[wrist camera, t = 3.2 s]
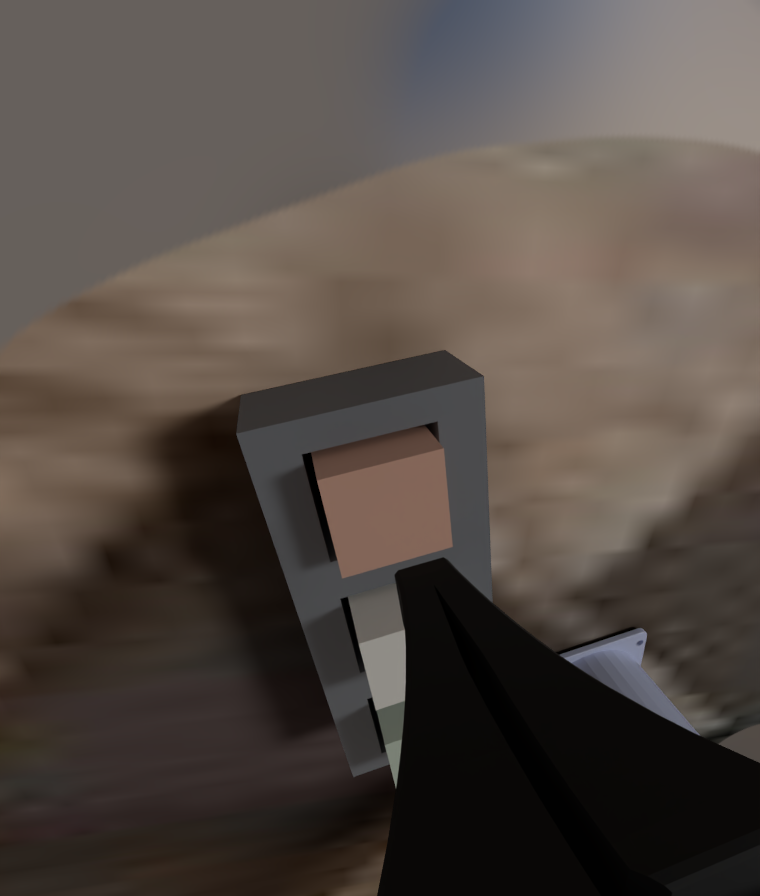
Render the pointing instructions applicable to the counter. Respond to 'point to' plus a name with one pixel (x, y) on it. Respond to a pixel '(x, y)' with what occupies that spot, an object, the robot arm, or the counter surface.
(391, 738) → the sage key
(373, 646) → the cream cube
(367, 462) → the brown cube
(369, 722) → the keypad
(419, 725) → the robot arm
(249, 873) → the counter surface
